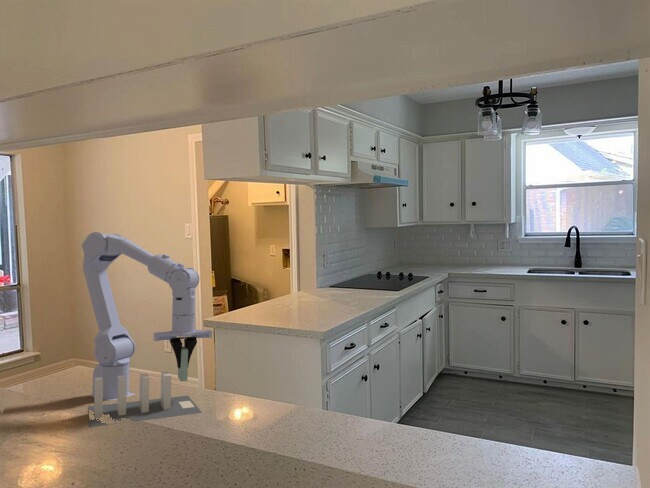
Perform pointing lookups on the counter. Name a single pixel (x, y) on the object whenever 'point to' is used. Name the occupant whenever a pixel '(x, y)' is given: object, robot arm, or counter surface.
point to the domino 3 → (144, 393)
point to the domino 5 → (183, 365)
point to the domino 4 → (165, 390)
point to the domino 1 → (98, 398)
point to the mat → (133, 412)
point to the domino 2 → (121, 395)
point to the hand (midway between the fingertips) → (182, 367)
